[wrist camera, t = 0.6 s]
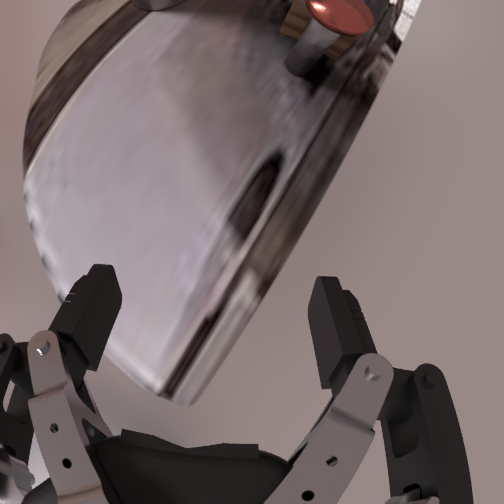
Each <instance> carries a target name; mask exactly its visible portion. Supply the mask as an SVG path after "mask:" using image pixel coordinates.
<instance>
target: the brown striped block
mask: <svg viewBox="0 0 504 504" xmlns="http://www.w3.org/2000/svg"><path fill="white" fill-rule="evenodd" d="M312 18H313V17H312V16H311V15H310V13H309V12H308V10H307V7H306V0H294V2H293V4H292V6H291V8H290V10H289V12H288V14H287V16H286V18H285V20H284V22H283V24H282V26H281V28H280V30H279V32H280V33H282V34H284V35H286V36H289V37H291V38H293V39H295V40H297V41H298V39H299V37H300V36H301V34H302V33H303V31H304V30H305V28H306V27H307V25H308V24H309V22H310V21H311V19H312ZM359 37H360V36H358V37H347V36H343V35H340V36H339V37H338V39H337V40H336V41H335V42H334V43H333V44H332V45H331V46H330V47H329V48H328V49H327V51H326V52H325V53H324V55H326V56H328V57H329V58H331V59H333V60H336V59H337V58H338V57H339V56H340V55H341V54H342V53H343V52H344V51H345V50H346V49H347V48H348V47H349V46H351V45H352V44H353V43H354V42H355V41H356V40H357V39H358V38H359Z"/></svg>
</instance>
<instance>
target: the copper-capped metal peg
mask: <svg viewBox="0 0 504 504" xmlns="http://www.w3.org/2000/svg"><path fill="white" fill-rule="evenodd" d="M306 7H307V10H308V12H309V13H310V15H311V16H312V17H313V18H312V19H311V21H310V22H309V24H308V25H307V27H306V28H305V30H304V31H303V33H302V34H301V36H300V37H299V39H298V41H297V42H296V44H295V45H294V47H293V48H292V50H291V52H290V53H289V55H288V56H287V58H286V60H285V66H286V68H287V69H288V70H289V71H290V72H291V73H293V74H296V75H304V74H306V73H307V72H308V71H309V70H310V69H311V67H312V66H313V65H314V64H315V63H316V62H317V61H318V59H319V58H320V57H321V56H322V55H323V54H324V53H325V52H326V51H327V49H328V48H329V47H330V46H331V45H332V44H333V43H334V42H335V41H336V40H337V39H338V37H339V36H340V35H343V36H347V37H358V36H361V35H363V34H364V33H365V32H366V31H367V30H368V29H370V28H371V26H372V25H373V16H372V14H371V11H370V10H369V8H368V7H367V6H366V4H365V3H364V2H363V1H362V0H306Z"/></svg>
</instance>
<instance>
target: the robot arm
mask: <svg viewBox="0 0 504 504" xmlns="http://www.w3.org/2000/svg"><path fill="white" fill-rule="evenodd" d="M182 1H184V0H133V3H134V4H135V6H137V7H138V8H140V9H143V10H161V9H166V8H169V7H172V6H175V5H177V4H179V3H180V2H182ZM121 304H122V293H121V290H120V287H119V284H118V280H117V277H116V274H115V270H114V268H113V266H112V265H106V264H94V265H93V266H92V267H91V269H90V271H89V272H88V274H87V275H83V276H82V277H81V278H80V279H79V280H78V281H77V282H75V284H74V285H73V287H72V288H71V290H70V292H69V294H68V295H67V297H66V298H65V302H63V304H62V305H61V307H60V309H59V311H58V312H57V314H56V316H55V318H54V320H53V322H52V324H51V325H50V327H49V329H48V330H43V331H40V332H38V333H36V334H35V335H34V336H33V337H32V338H31V339H30V341H29V342H21V343H15V341H14V340H13V339H12V337H11V336H10V335H8V334H6V333H3V334H0V504H337V502H338V500H339V499H340V497H341V496H342V494H343V493H344V491H345V489H346V488H347V486H348V485H349V483H350V482H351V480H352V478H353V476H354V475H355V473H356V471H357V470H358V468H359V466H360V464H361V462H362V460H363V459H364V457H365V455H366V453H367V451H368V449H369V447H370V445H371V443H372V441H373V438H374V435H375V431H374V430H373V426H374V424H375V421H376V420H380V421H381V426H382V432H383V439H384V445H385V451H386V458H387V466H388V475H389V484H390V495H391V498H390V499H389V500H388V501H387V502H386V503H385V504H473V494H472V486H471V479H470V472H469V466H468V461H467V456H466V451H465V446H464V442H463V437H462V433H461V429H460V426H459V422H458V418H457V415H456V411H455V408H454V404H453V401H452V398H451V395H450V392H449V389H448V386H447V383H446V380H445V378H444V375H443V373H442V371H441V370H440V369H439V368H438V367H436V366H434V365H432V364H428V363H427V364H422V365H420V366H419V367H418V368H417V369H416V370H415V371H409V370H403V369H397V368H394V367H392V365H391V364H390V362H389V361H388V360H387V359H386V358H384V357H383V356H381V355H379V354H378V353H377V351H376V348H375V345H374V343H373V340H372V337H371V334H370V332H369V329H368V326H367V323H366V321H365V320H364V319H365V318H364V315H363V313H362V312H361V308H360V305H359V303H358V300H357V299H356V298H355V296H354V295H353V294H352V293H351V292H350V291H349V290H342V287H341V285H340V282H339V280H338V278H337V277H328V276H327V277H326V276H318V277H317V278H316V281H315V284H314V288H313V292H312V295H311V299H310V302H309V306H308V320H309V325H310V330H311V335H312V340H313V345H314V350H315V355H316V360H317V366H318V371H319V376H320V382H321V387H322V389H330V388H331V390H332V395H333V396H332V397H331V399H330V400H329V402H328V404H327V405H326V407H325V409H324V410H323V412H322V413H321V415H320V416H319V418H318V420H317V421H316V423H315V424H314V426H313V427H312V429H311V430H310V432H309V433H308V434H307V436H306V437H305V438H304V440H303V441H302V442H301V444H300V445H299V446H298V447H297V449H296V450H295V452H294V453H293V454H292V455H291V457H290V458H289V459H288V461H286V460H284V459H282V458H281V457H279V456H276V455H274V454H272V453H268V452H266V451H262V450H258V444H228V443H222V444H216V445H210V446H202V447H196V448H184V447H181V446H178V445H176V444H173V443H170V442H168V441H165V440H163V439H161V438H158V437H156V436H154V435H149V434H144V433H139V432H135V431H130V430H125V429H122V432H121V435H118V436H113V435H112V433H111V431H110V430H109V428H108V426H107V425H106V423H105V422H104V421H103V419H102V417H101V415H100V413H99V411H98V408H97V406H96V403H95V401H94V398H93V396H92V393H91V390H90V388H89V385H88V382H87V380H86V377H85V376H84V375H85V372H86V370H91V371H97V368H98V366H99V362H100V360H101V357H102V354H103V351H104V349H105V346H106V343H107V341H108V338H109V335H110V333H111V330H112V328H113V325H114V323H115V320H116V318H117V315H118V313H119V310H120V308H121ZM10 380H11V381H12V382H13V383H14V384H15V386H14V390H13V392H12V396H11V399H10V402H9V405H8V409H7V412H5V410H4V408H3V399H4V396H5V393H6V390H7V387H8V384H9V381H10ZM34 430H35V434H36V438H37V441H38V444H39V447H40V450H41V453H42V456H43V459H44V462H45V465H46V467H47V470H48V472H49V475H50V477H49V478H48V479H47V480H45V481H44V482H43V483H41V484H40V485H38V486H37V487H36V488H34V489H32V486H31V485H33V484H34V483H35V478H34V476H33V474H32V473H30V472H29V469H28V460H29V454H30V449H31V443H32V438H33V433H34Z"/></svg>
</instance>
